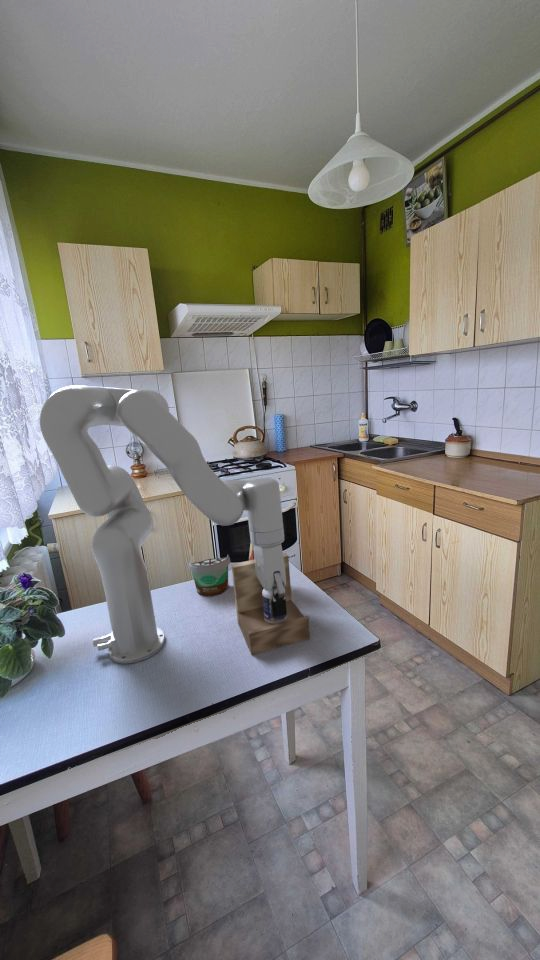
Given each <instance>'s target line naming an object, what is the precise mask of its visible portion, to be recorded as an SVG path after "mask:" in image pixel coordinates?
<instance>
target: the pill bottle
mask: <svg viewBox="0 0 540 960" xmlns="http://www.w3.org/2000/svg"><path fill="white" fill-rule="evenodd" d="M274 586H276V584H273V586H272V587H274ZM276 593H277V589H274V594H276ZM262 597H263V610H264V619H265V620H266V621H267V622H268V623H271V624H278V623H281V622H283V621H285V620H286V618H287V614H286V615H282V616H278V617H273V616H272V607H271V600H272V596H271V592H270V590H268V591H267V590H265V589H263V591H262ZM285 600H286V594H285ZM286 610H287V609H286Z"/></svg>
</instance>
